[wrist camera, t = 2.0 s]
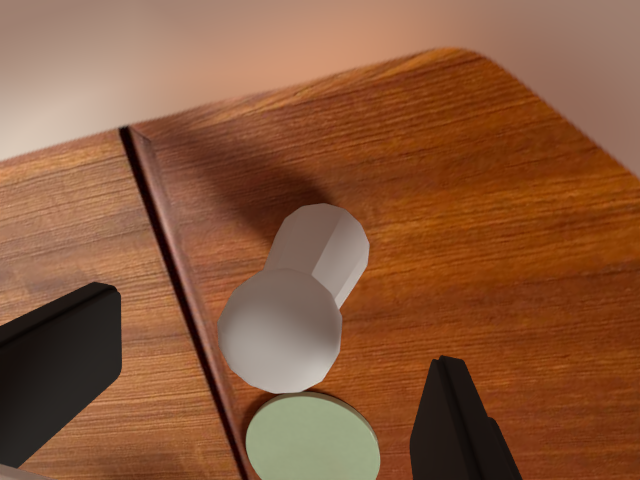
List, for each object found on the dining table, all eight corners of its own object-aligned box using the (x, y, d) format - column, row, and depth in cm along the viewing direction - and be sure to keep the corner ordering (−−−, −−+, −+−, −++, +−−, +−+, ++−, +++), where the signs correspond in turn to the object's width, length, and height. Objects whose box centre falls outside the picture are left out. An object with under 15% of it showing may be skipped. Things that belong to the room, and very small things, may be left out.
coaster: (222, 425, 29) (219, 431, 29) (326, 368, 26) (325, 373, 25) (300, 515, 31) (298, 522, 30) (407, 471, 27) (407, 478, 27)
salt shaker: (337, 179, 22) (289, 227, 10) (386, 251, 23) (401, 380, 10) (267, 228, 24) (151, 323, 11) (316, 294, 24) (257, 449, 12)
